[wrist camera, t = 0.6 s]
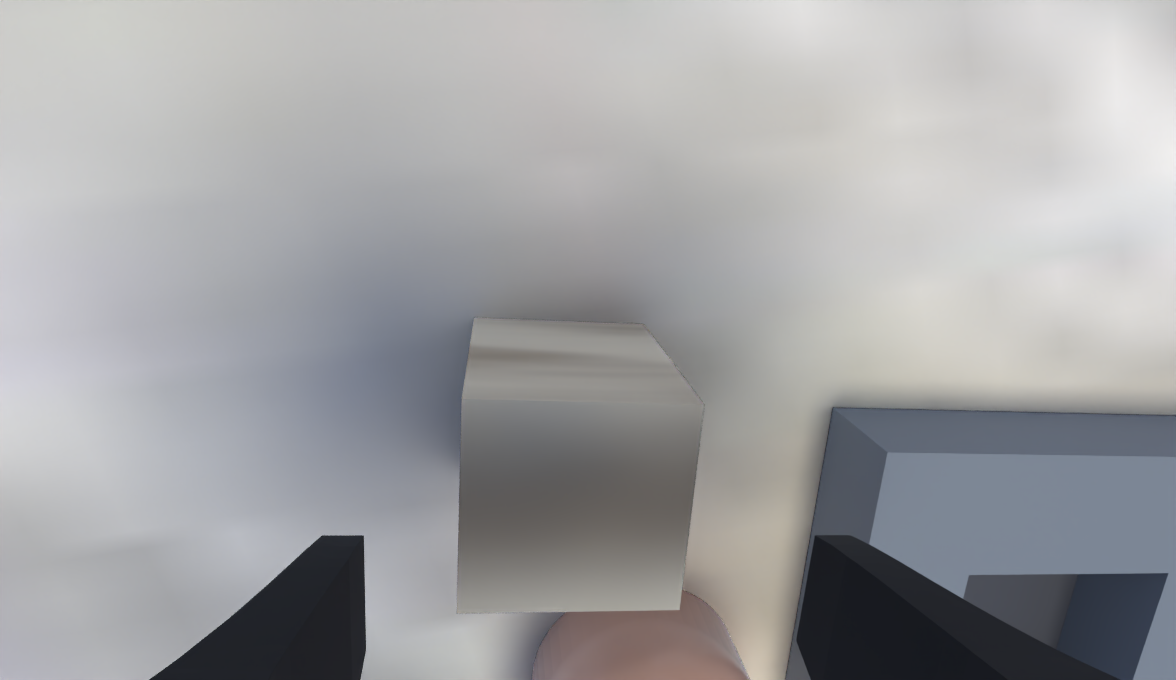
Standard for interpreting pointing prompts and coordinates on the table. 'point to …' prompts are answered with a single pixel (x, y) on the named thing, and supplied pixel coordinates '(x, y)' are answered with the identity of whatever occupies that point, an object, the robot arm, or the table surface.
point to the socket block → (1020, 521)
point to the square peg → (573, 469)
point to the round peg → (640, 646)
